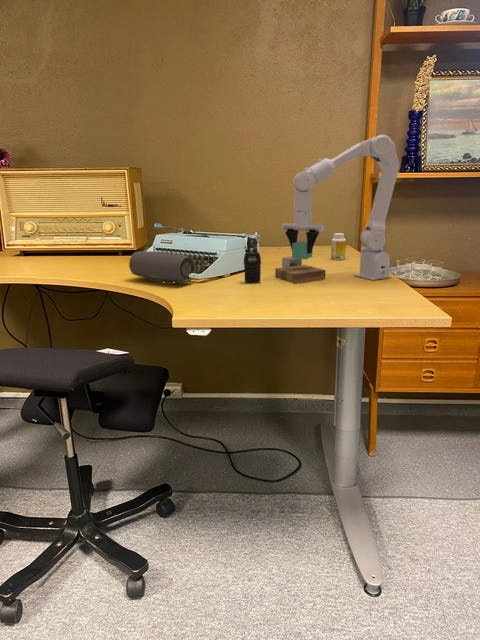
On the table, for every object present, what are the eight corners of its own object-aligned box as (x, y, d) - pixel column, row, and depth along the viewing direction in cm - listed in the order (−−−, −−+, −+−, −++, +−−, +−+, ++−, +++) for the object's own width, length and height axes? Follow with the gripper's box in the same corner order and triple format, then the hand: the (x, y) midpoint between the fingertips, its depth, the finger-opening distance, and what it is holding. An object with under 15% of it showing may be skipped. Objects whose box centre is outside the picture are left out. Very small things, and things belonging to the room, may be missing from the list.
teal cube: (312, 256, 158) (312, 241, 157) (305, 259, 154) (306, 243, 153) (298, 255, 161) (299, 241, 160) (292, 258, 157) (292, 243, 155)
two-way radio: (244, 283, 153) (243, 237, 148) (244, 280, 157) (243, 235, 153) (261, 283, 153) (260, 236, 148) (260, 280, 157) (260, 234, 153)
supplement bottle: (347, 259, 190) (349, 233, 187) (339, 260, 187) (340, 234, 184) (337, 257, 195) (338, 232, 191) (328, 259, 191) (328, 233, 188)
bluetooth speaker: (198, 282, 156) (196, 252, 153) (179, 288, 149) (177, 257, 146) (148, 276, 168) (146, 248, 166) (129, 281, 161) (126, 252, 158)
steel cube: (301, 272, 169) (301, 258, 167) (289, 273, 166) (289, 259, 165) (293, 269, 173) (293, 256, 171) (282, 271, 171) (282, 257, 169)
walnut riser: (325, 279, 156) (325, 270, 155) (295, 283, 151) (295, 274, 150) (304, 273, 166) (304, 264, 165) (275, 277, 161) (275, 268, 160)
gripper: (328, 210, 152) (327, 252, 156) (288, 209, 160) (287, 249, 164) (319, 212, 147) (318, 255, 151) (278, 211, 154) (278, 252, 158)
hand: (301, 252), depth 157 cm, fingers closed on teal cube, 5 cm apart
